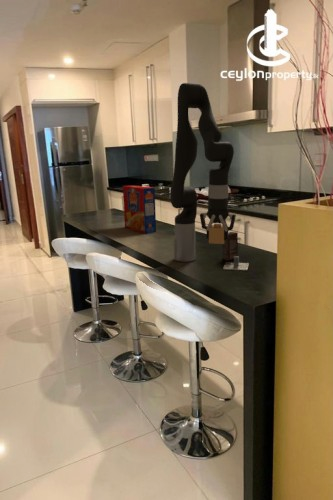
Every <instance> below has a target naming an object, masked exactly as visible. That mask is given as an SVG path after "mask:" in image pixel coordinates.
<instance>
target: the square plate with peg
mask: <svg viewBox="0 0 333 500" xmlns="http://www.w3.org/2000/svg"><path fill="white" fill-rule="evenodd" d="M249 264H250V263H249V262H240V256H239V255H238V256H234V259H233V262H232V261H229V262H228V261H225V264H224V265H223V268H222V270H223V271H224V270H227V271H243V272H245V271H247V272H248V268H249Z"/></svg>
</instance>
